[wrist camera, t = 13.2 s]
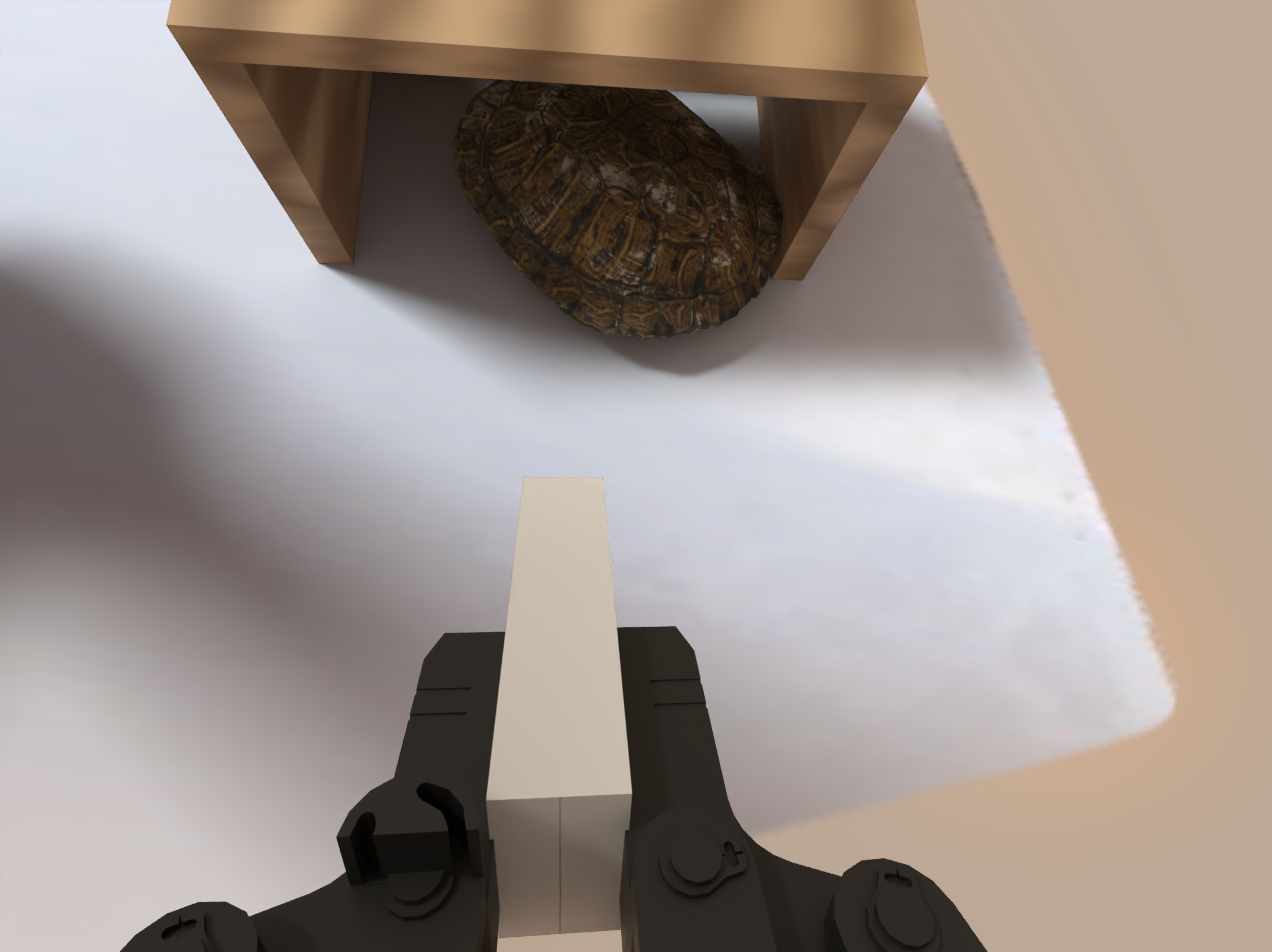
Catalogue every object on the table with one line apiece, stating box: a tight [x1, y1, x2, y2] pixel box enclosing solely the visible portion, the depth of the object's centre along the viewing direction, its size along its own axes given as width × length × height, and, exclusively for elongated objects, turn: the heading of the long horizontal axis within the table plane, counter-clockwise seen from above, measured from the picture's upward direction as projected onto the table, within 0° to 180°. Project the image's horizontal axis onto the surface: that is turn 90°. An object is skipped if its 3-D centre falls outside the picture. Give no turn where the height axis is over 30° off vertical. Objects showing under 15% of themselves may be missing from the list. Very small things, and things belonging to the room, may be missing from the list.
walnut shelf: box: [166, 0, 929, 280], centre depth 36 cm, size 30×18×16 cm, turn 91°
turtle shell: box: [454, 79, 783, 339], centre depth 39 cm, size 16×9×20 cm
